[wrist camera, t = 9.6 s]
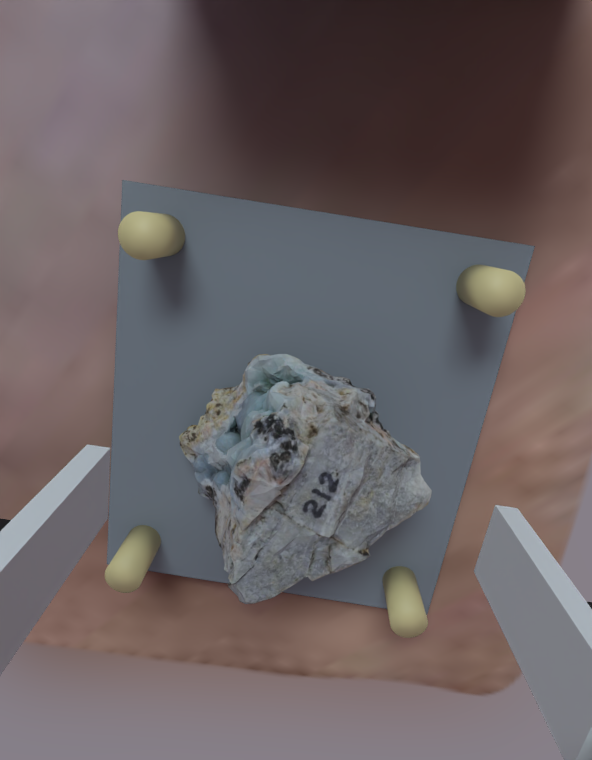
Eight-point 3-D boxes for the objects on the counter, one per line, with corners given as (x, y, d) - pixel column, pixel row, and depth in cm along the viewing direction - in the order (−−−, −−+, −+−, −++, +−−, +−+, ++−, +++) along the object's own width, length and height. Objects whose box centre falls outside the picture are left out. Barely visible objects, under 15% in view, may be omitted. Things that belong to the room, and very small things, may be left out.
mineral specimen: (279, 358, 28) (300, 529, 28) (143, 370, 23) (169, 579, 23) (414, 334, 20) (443, 568, 20) (256, 343, 15) (294, 655, 15)
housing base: (115, 550, 28) (81, 604, 24) (132, 182, 22) (90, 171, 18) (422, 599, 28) (439, 661, 24) (523, 245, 22) (569, 248, 18)
